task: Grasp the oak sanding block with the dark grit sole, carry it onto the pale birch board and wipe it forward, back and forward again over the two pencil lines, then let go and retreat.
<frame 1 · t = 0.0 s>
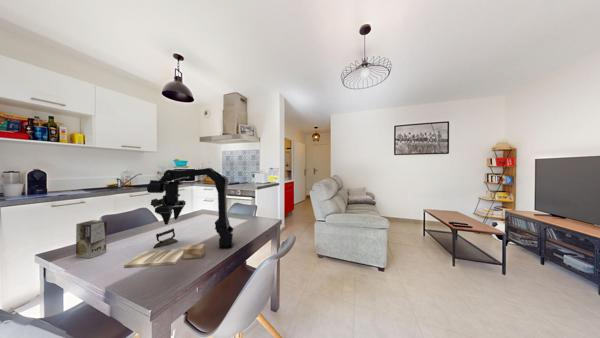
hand: (171, 221, 94), 15 cm above the table, fingers open, 9 cm apart
coffee box: (91, 255, 86), on the table
sanding block: (194, 256, 87), on the table
clothes iron: (164, 244, 99), on the table
birch board: (159, 258, 84), on the table
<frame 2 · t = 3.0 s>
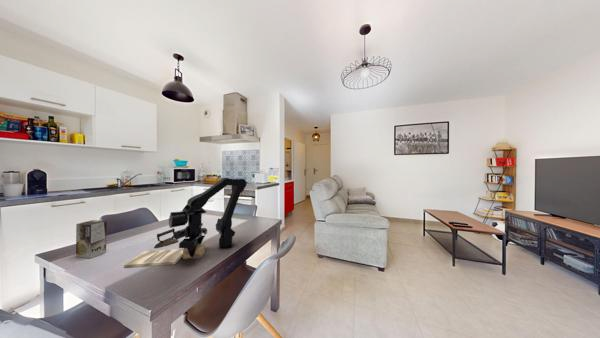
hand: (194, 254, 87), 1 cm above the table, fingers closed on sanding block, 5 cm apart
sanding block: (194, 256, 87), on the table, touching gripper
everything else where it was.
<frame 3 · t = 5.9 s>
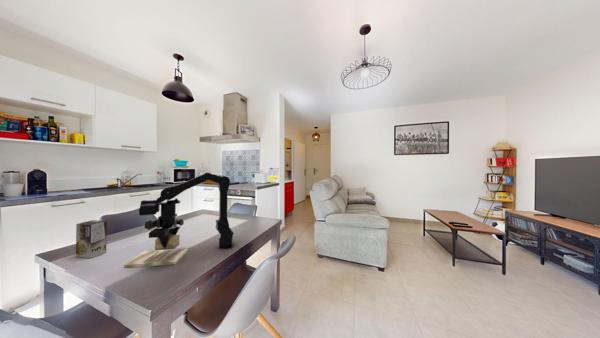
hand: (167, 245, 85), 6 cm above the table, fingers closed on sanding block, 5 cm apart
sanding block: (167, 247, 85), point 5 cm above the table, touching gripper
everything else where it was.
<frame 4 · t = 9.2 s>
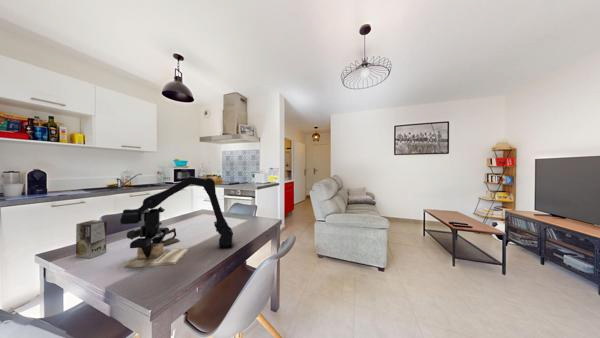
hand: (151, 254, 83), 2 cm above the table, fingers closed on sanding block, 5 cm apart
sanding block: (150, 256, 83), point 1 cm above the table, touching birch board, gripper
everything else where it was.
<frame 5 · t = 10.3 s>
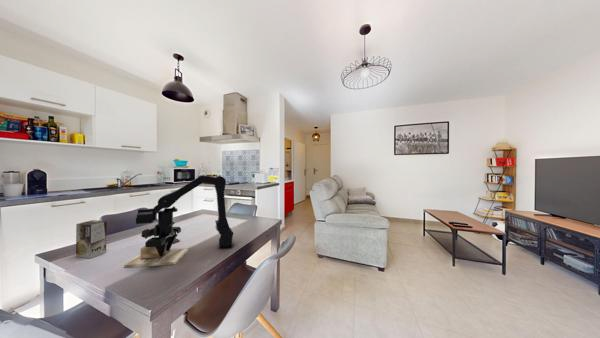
hand: (164, 253, 84), 2 cm above the table, fingers open, 5 cm apart
sanding block: (153, 256, 84), point 1 cm above the table, touching birch board
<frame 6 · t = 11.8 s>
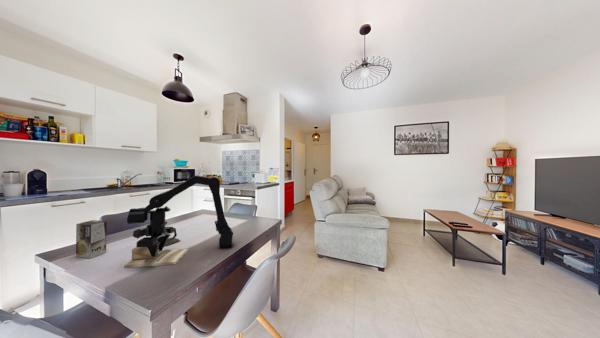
hand: (156, 253, 84), 2 cm above the table, fingers closed on sanding block, 5 cm apart
sanding block: (145, 257, 83), point 1 cm above the table, touching gripper
when the fingers open (2 cm above the table, at t = 13.7 s): sanding block stays where it is, resting on birch board.
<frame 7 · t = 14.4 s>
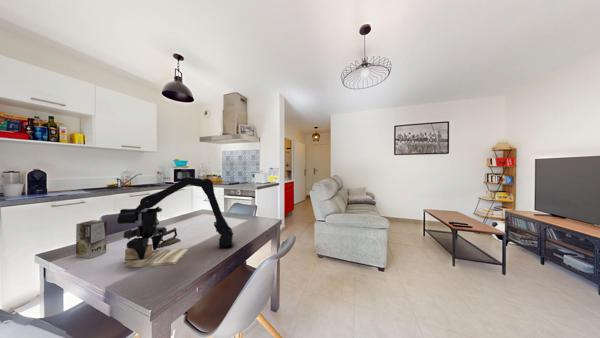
hand: (148, 254, 83), 2 cm above the table, fingers open, 9 cm apart
sanding block: (139, 257, 82), point 1 cm above the table, touching birch board
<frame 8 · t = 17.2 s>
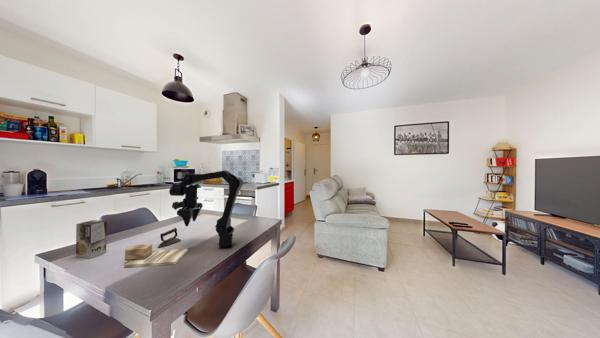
hand: (190, 223, 98), 13 cm above the table, fingers open, 9 cm apart
at the end: sanding block moved 23.9 cm from its start; sanding block inside the target area (7.8 cm from its centre), point 1.2 cm above the table; the gripper is holding nothing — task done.
